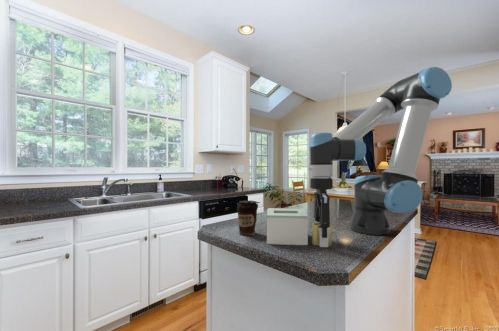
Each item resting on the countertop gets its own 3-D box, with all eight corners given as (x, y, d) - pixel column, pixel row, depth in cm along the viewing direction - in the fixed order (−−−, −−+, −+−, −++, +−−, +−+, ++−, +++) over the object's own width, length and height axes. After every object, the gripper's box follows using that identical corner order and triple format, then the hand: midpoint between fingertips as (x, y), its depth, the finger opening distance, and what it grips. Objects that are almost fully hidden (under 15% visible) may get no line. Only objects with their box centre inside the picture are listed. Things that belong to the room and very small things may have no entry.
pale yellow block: (329, 242, 85) (329, 223, 85) (331, 245, 82) (331, 225, 82) (311, 242, 86) (311, 222, 86) (313, 245, 83) (313, 224, 83)
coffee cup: (255, 237, 91) (255, 203, 91) (234, 236, 93) (234, 202, 93) (259, 231, 100) (259, 200, 100) (240, 230, 102) (240, 199, 102)
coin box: (302, 233, 96) (302, 208, 96) (307, 245, 83) (307, 216, 83) (267, 232, 98) (267, 208, 98) (266, 243, 84) (266, 215, 84)
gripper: (306, 176, 94) (306, 234, 94) (315, 179, 74) (315, 253, 74) (325, 176, 94) (326, 235, 94) (340, 179, 74) (340, 253, 74)
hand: (321, 243), depth 84 cm, fingers open, 7 cm apart
